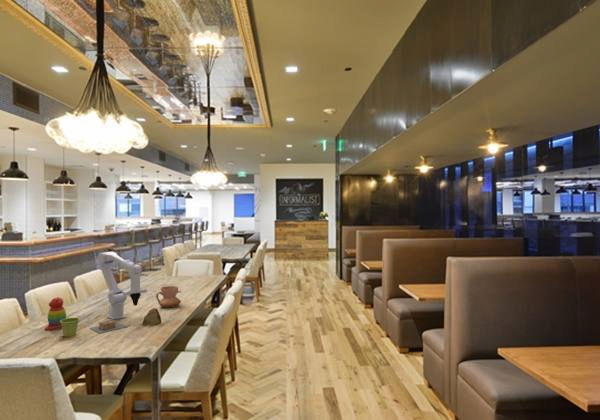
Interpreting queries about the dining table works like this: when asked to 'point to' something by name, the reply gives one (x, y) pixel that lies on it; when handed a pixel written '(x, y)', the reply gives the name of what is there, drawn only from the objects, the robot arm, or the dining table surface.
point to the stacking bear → (55, 314)
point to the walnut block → (106, 324)
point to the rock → (152, 317)
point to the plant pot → (69, 326)
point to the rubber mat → (117, 326)
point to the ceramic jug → (169, 296)
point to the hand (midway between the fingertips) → (135, 305)
